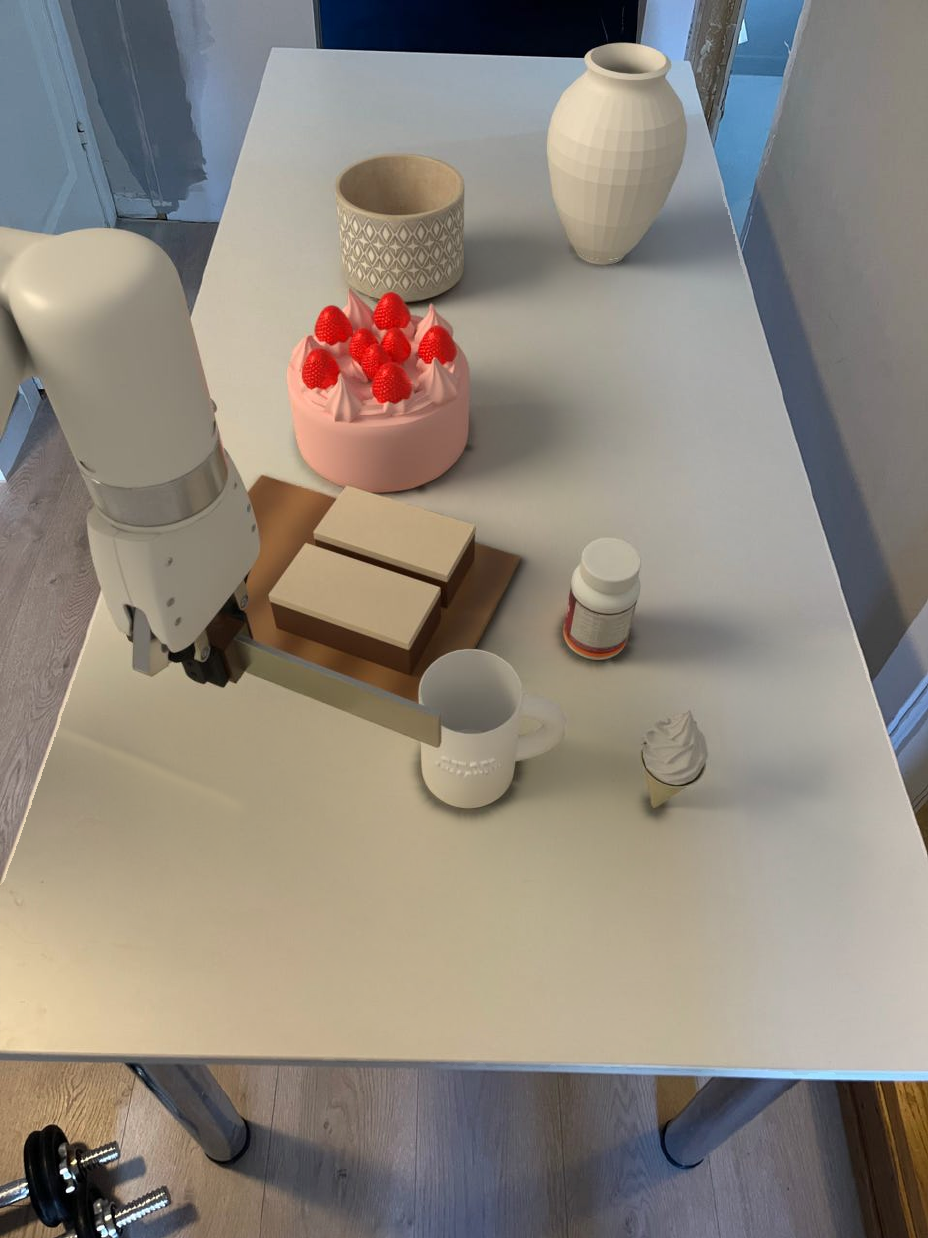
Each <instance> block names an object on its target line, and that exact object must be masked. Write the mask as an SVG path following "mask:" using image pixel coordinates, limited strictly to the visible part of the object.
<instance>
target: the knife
mask: <svg viewBox="0 0 928 1238" xmlns="http://www.w3.org/2000/svg"><path fill="white" fill-rule="evenodd" d="M206 632H207V635H208V639H209V643H210V646H212V647H215V648H216V649H218V651H219V653H220V656H221V659H222V662H223V665H224V668H225V671H226V674H227V677H228V682H230V683H232V684H238V682H239V681H240V680H241V678H242V676H243V675H244V674H245V673H247V674H249V675H252V676H254V677H257V678H259V679H262V680H263V681H267V682H269V683H271V684H274V685H277V686H280V687H282V688H284V689H287V690H290V691H292V692H295V693H296V694H298V695H299V694H300V695H302V696H304V697H307V698H310V699H312V700H315V701H316V702H319V703H322V704H324V705H327V706H329V707H332V708H335V709H336V710H337V709H338V710H340V711H343V712H345V713H348V714H350V715H352V716H355V717H357V718H359V719H363V720H365V721H368V722H371V723H372V724H375V725H377V726H380V727H383V728H386V729H388V730H391V731H393V732H395V733H398V734H401V735H403V736H406V737H408V738H410V739H414V740H416V741H418V742H420V743H421V742H423V743H426V744H428V745H431V746H433V747H436V748H439V747H440V745H441V742H442V737H441V712H439V711H437V710H434V709H432V708H429V707H426V706H424V705H421V704H419V703H416V702H413V701H411V700H408V699H406V698H403V697H400V696H398V695H395V694H393V693H390V692H387V691H385V690H382V689H380V688H377V687H374V686H372V685H369V684H367V683H364V682H361V681H359V680H356V679H354V678H351V677H348V676H346V675H343V674H341V673H338V672H335V671H333V670H330V669H328V668H325V667H323V666H320V665H317V664H315V663H312V662H310V661H307V660H304V659H302V658H299V657H297V656H294V655H291V654H289V653H286V652H284V651H281V650H278V649H276V648H273V647H271V646H268V645H265V644H263V643H260V642H258V641H255V640H252V639H251V638H250V635H249V631H248V628H247V624H246V622H243V621H241V620H238V619H236V618H233V617H230V616H228V615H225V614H222V613H220V612H218V613H217V614H216V615H215V616H214V618H213V619H212V620H211V622H210V623H209V624H208V625H207V627H206ZM125 635H126V634H125ZM126 637H127V640H128V641H129V642H130V643H132V644H133V634H132V635H131V636H128V635H126Z"/></svg>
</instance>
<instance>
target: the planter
mask: <svg viewBox="0 0 928 1238" xmlns="http://www.w3.org/2000/svg"><path fill="white" fill-rule="evenodd" d="M334 197H335V206H336V216H337V226H338V236H339V245H340V247H339V248H340V254H341V255H340V256H341V265H342V273H343V276H344V278H345V280H346V281H347V282H348V284H349V285H350V286H351V287H353V289H355V290H357V291H358V292H360V293H362V294H363V295H366V296H368V297H371V298H374V299H378V300H380V298H381V297H382V296H383V295H384V294H386V293H388V292H394V293H396V294H398V295H399V296H400V297H401V298H402V299H403V301H404V302H405V303H415V302H420V301H425V300H428V299H430V298H434V297H436V296H439V295H441V294H443V293H445V292H447V291H448V290H450V289H451V288H453V287H454V286H455V285H456V284H457V283H458V282H459V280H460V279H461V278H462V275H463V273H464V261H465V260H464V258H465V257H464V254H465V251H464V249H465V181H464V178H463V176H462V174H461V173H460V172H459V171H458V170H457V169H456V168H455V167H453V166H452V165H450V164H449V163H447V162H445V161H442V160H441V159H438V158H434V157H431V156H427V155H421V154H415V153H388V154H387V153H385V154H379V155H374V156H370V157H368V158H364V159H361V160H357V161H356V162H353V163H352V164H350V165H349V166H347V167H346V168H344V169H343V170H342V171H341V172H340V173H339V174H338V175H337V177H336V178H335V182H334Z"/></svg>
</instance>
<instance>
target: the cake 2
mask: <svg viewBox="0 0 928 1238" xmlns="http://www.w3.org/2000/svg"><path fill="white" fill-rule="evenodd" d="M336 498H337V499H336V501H335V502H334V504H333V505H332V506H331V508H330V509H329V511H328V512H327V513H326V515H325V516H324V518H323V519H322V520H321V522H320V523H319V525H318V526H317V527H316V529H315V530H314V532H313V533H314V539H315V544H316V546H317V547H320V548H323V549H326V550H329V551H332V552H335V553H338V554H341V555H344V556H347V557H350V558H353V559H356V560H359V561H362V562H365V563H368V564H371V565H374V566H377V567H380V568H383V569H386V570H389V571H392V572H395V573H398V574H401V575H404V576H407V577H410V578H413V579H416V580H419V581H422V582H425V583H428V584H431V585H434V586H438V587H440V590H441V594H440V595H441V607H443V608H446V609H447V608H448V607H449V605H450V603H451V601H452V599H453V598H454V596H455V594H456V592H457V590H458V589H459V587H460V585H461V583H462V581H463V579H464V578H465V576H466V574H467V572H468V570H469V568H470V567H471V565H472V563H473V561H474V556H475V542H476V528H477V526H476V524H473V523H471V522H470V523H469V522H466V521H463V520H460V519H457V518H453V517H450V516H447V515H443V514H440V513H438V512H434V511H431V510H427V509H425V508H421V507H418V506H414V505H411V504H408V503H405V502H402V501H399V500H395V499H393V498H389V497H387V496H383V495H379V494H376V493H374V492H367V491H363V490H360V489H357V488H354V487H351V486H347V485H346V487H343V489H342V491H341V492H340V494H339V495H338V497H336Z"/></svg>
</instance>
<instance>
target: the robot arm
mask: <svg viewBox="0 0 928 1238" xmlns="http://www.w3.org/2000/svg"><path fill="white" fill-rule="evenodd" d="M29 378H37V379H38V380H40V382H41V384H42V387H43V389H44V391H45V394H46V396H47V399H48V401H49V403H50V405H51V408H52V410H53V412H54V414H55V417H56V419H57V421H58V424H59V426H60V428H61V430H62V433H63V435H64V437H65V440H66V442H67V445H68V447H69V449H70V451H71V453H72V456H73V458H74V461H75V463H76V466H77V469H78V470H79V473H80V474H81V477H82V479H83V482H84V484H85V487H86V489H87V491H88V493H89V496H90V499H91V501H92V502H93V506H92V507H91V509H90V511H89V512H88V513H87V515H86V525H87V527H86V529H87V537H88V545H89V550H90V554H91V559H92V563H93V568H94V572H95V574H96V578H97V581H98V584H99V587H100V590H101V593H102V596H103V598H104V602H105V604H106V606H107V610H108V611H109V614H110V616H111V618H112V621H113V623H114V625H115V627H116V628H117V630H118V631H119V632H120V633H123V634H124V635H128V636H131V635H132V634H133V643H132V658H131V659H132V660H131V661H132V662H131V663H132V664H131V667H132V669H133V671H135V672H137V673H140V674H143V675H145V676H148V677H151V678H152V677H154V676H156V675H157V674H159V673H160V672H163V670H165V669H167V668H168V667H170V664H171V663H174V664H179V663H181V665H182V668H183V670H184V672H185V675H186V676H187V677H188V678H189V679H190V680H191V681H193V682H196V683H198V684H201V685H206V684H207V683H209V684H212V685H214V686H216V687H219V688H223V689H224V688H226V686H227V684H228V683H229V681H228V677H227V674H226V671H225V668H224V665H223V662H222V659H221V656H220V653H219V651H218V649H216V648H215V647H212V646H210V643H209V639H208V635H207V632H206V627H207V625H208V624H209V623H210V622H211V620H212V619H213V618H214V616H215V615H216V614H217V613H218V612H220V613H222V614H225V615H228V616H230V617H233V618H236V619H238V620H241V621H243V622H246V624H247V628H248V631H249V635H250V638H251V639H252V640H254V639H253V635H252V632H251V628H250V625H249V621H248V618H247V614H246V613H245V612H244V609H245V608H246V607H247V605H248V603H249V593H248V591H247V588H246V583H247V579H248V575H249V573H250V571H251V568H252V567H253V565H254V564H255V562H256V560H257V558H258V556H259V553H260V539H261V535H260V533H259V531H258V527H257V522H256V519H255V515H254V511H253V508H252V505H251V502H250V499H249V496H248V493H247V492H248V491H247V488H246V486H245V483H244V481H243V479H242V476H241V473H240V472H239V470H238V468H237V465H236V464H235V462H234V460H233V459H232V457H231V455H230V454H229V452H228V450H227V449H226V448H225V447H224V444H223V441H222V437H221V433H220V429H219V426H218V422H217V417H216V413H217V411H218V407H217V403H216V402H215V401H214V400H213V399H212V398H211V394H210V390H209V385H208V382H207V378H206V375H205V370H204V366H203V362H202V358H201V355H200V351H199V347H198V343H197V339H196V334H195V331H194V327H193V323H192V319H191V315H190V311H189V307H188V303H187V299H186V296H185V292H184V287H183V284H182V282H181V278H180V275H179V272H178V270H177V268H176V266H175V264H174V261H172V259H171V258H170V256H169V255H168V253H167V252H166V251H165V250H164V249H163V248H162V247H161V246H160V245H159V244H157V243H156V242H155V241H153V240H152V239H149V238H148V237H146V236H143V235H141V234H138V233H136V232H133V231H129V230H126V229H121V228H114V227H111V228H110V227H91V228H83V229H77V230H71V231H67V232H63V233H60V234H57V235H56V234H51V233H44V232H43V233H42V232H35V231H30V230H25V229H20V228H19V229H18V228H12V227H6V226H1V225H0V440H1V439H2V437H3V435H4V432H5V429H6V426H7V423H8V421H9V418H10V415H11V412H12V409H13V405H14V403H15V399H16V397H17V394H18V391H19V388H20V385H21V384H22V383H23V382H25V381H27V380H28V379H29Z"/></svg>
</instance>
